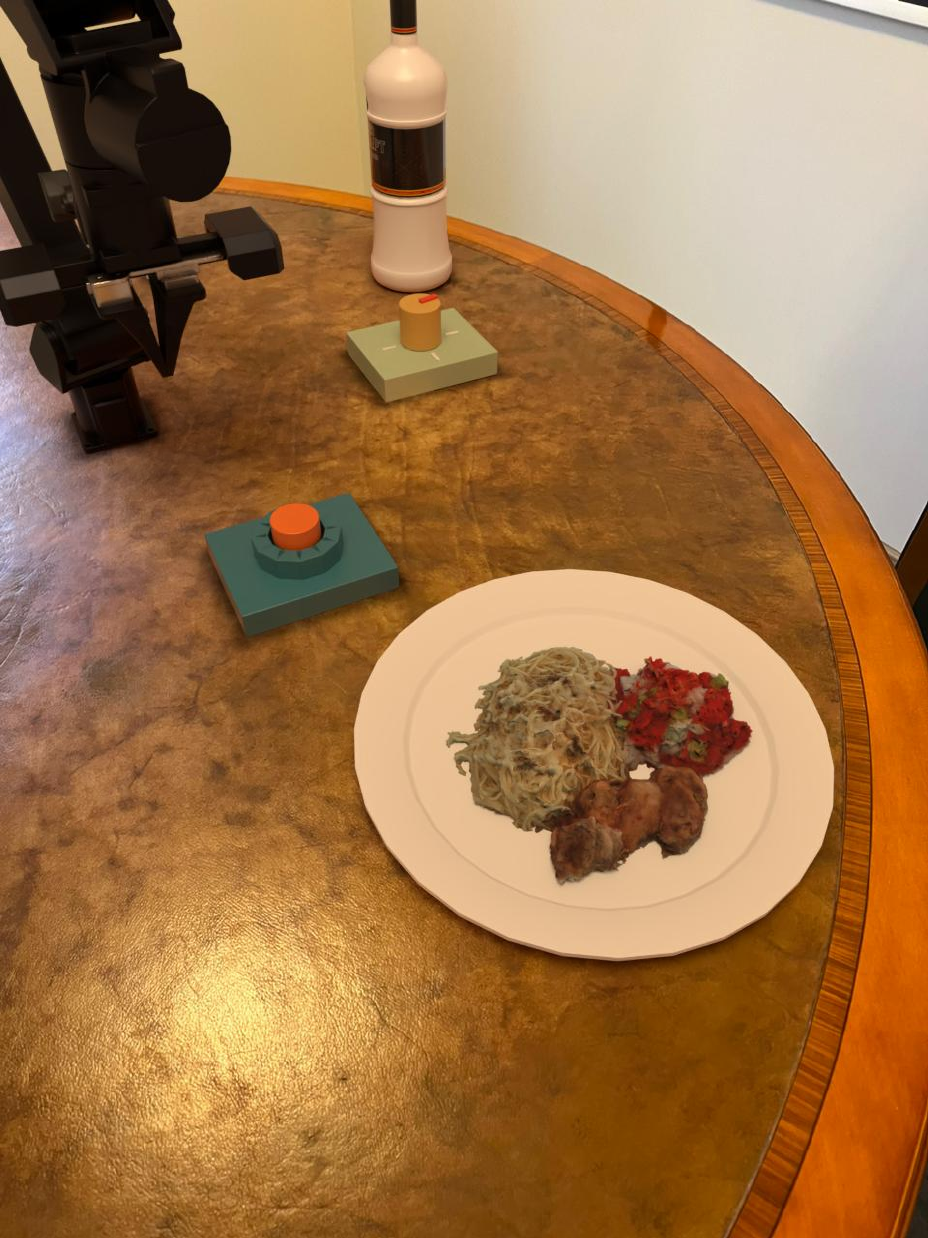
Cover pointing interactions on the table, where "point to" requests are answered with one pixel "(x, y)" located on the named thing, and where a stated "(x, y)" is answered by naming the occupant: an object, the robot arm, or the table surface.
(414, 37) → the vodka
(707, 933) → the plated food
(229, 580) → the teal button base
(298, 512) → the button
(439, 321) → the lock dial
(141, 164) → the robot arm
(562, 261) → the table surface
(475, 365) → the panel
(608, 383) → the table surface
